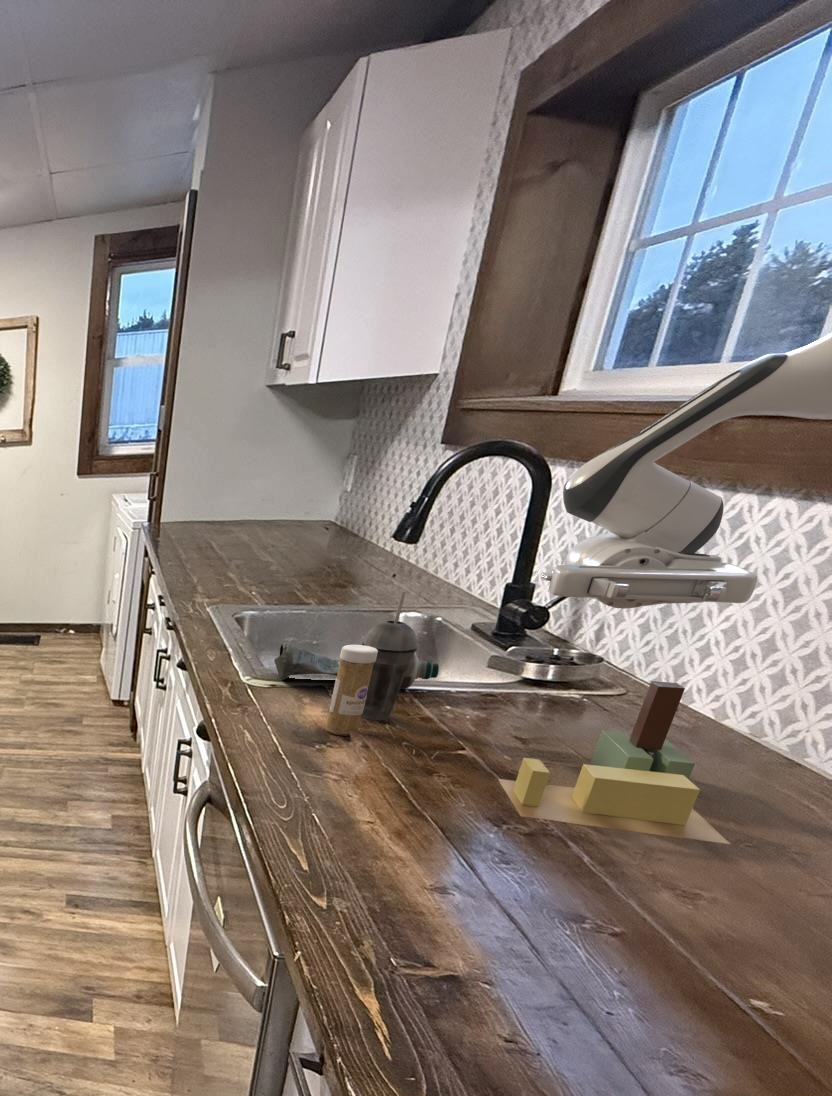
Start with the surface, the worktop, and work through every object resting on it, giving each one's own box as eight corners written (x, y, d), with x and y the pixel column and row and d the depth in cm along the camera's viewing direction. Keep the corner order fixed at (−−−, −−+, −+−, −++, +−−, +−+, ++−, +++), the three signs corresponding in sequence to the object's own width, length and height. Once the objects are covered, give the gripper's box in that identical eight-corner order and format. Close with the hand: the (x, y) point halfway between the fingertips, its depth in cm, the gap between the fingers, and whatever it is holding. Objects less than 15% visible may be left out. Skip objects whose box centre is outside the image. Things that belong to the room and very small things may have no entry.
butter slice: (528, 792, 102) (539, 759, 101) (538, 806, 99) (550, 772, 97) (512, 790, 103) (523, 757, 101) (521, 804, 99) (533, 770, 98)
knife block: (645, 778, 108) (662, 735, 106) (677, 808, 100) (695, 763, 98) (586, 771, 111) (601, 730, 109) (612, 800, 103) (629, 756, 100)
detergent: (269, 685, 150) (438, 699, 138) (276, 646, 148) (448, 657, 136) (272, 672, 161) (429, 684, 148) (278, 636, 158) (438, 645, 146)
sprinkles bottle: (348, 738, 125) (368, 652, 120) (318, 730, 129) (336, 646, 123) (364, 732, 127) (384, 647, 122) (334, 724, 131) (352, 642, 126)
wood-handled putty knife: (633, 782, 107) (672, 680, 102) (648, 797, 103) (689, 691, 98) (609, 779, 108) (647, 678, 103) (623, 794, 104) (662, 689, 99)
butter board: (680, 812, 99) (685, 800, 99) (725, 856, 90) (731, 844, 89) (494, 789, 107) (497, 778, 106) (517, 827, 97) (521, 816, 97)
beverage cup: (340, 716, 134) (368, 594, 126) (353, 705, 139) (380, 586, 131) (392, 726, 129) (424, 599, 121) (404, 714, 134) (435, 591, 126)
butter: (669, 809, 97) (683, 774, 95) (685, 825, 93) (700, 789, 91) (571, 797, 101) (583, 763, 99) (582, 812, 97) (595, 777, 95)
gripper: (543, 552, 122) (572, 566, 110) (733, 555, 113) (786, 571, 101) (530, 594, 124) (557, 613, 113) (716, 601, 115) (765, 622, 104)
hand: (667, 593), depth 107 cm, fingers open, 8 cm apart
